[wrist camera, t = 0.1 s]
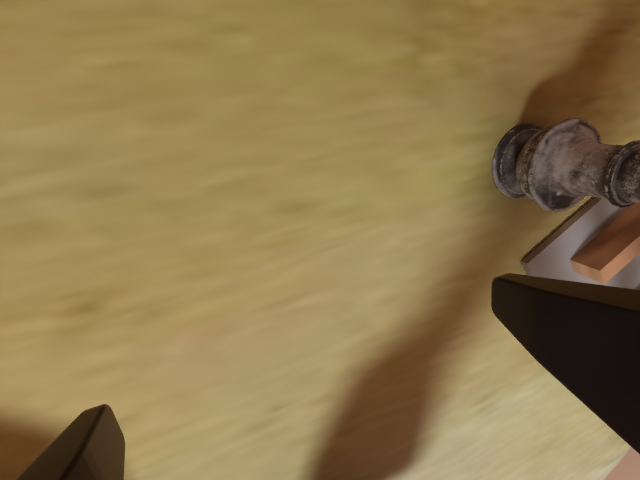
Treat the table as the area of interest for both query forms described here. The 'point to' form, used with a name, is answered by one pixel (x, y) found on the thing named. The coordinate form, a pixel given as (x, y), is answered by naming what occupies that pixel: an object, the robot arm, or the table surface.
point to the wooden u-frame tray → (592, 247)
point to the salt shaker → (566, 166)
